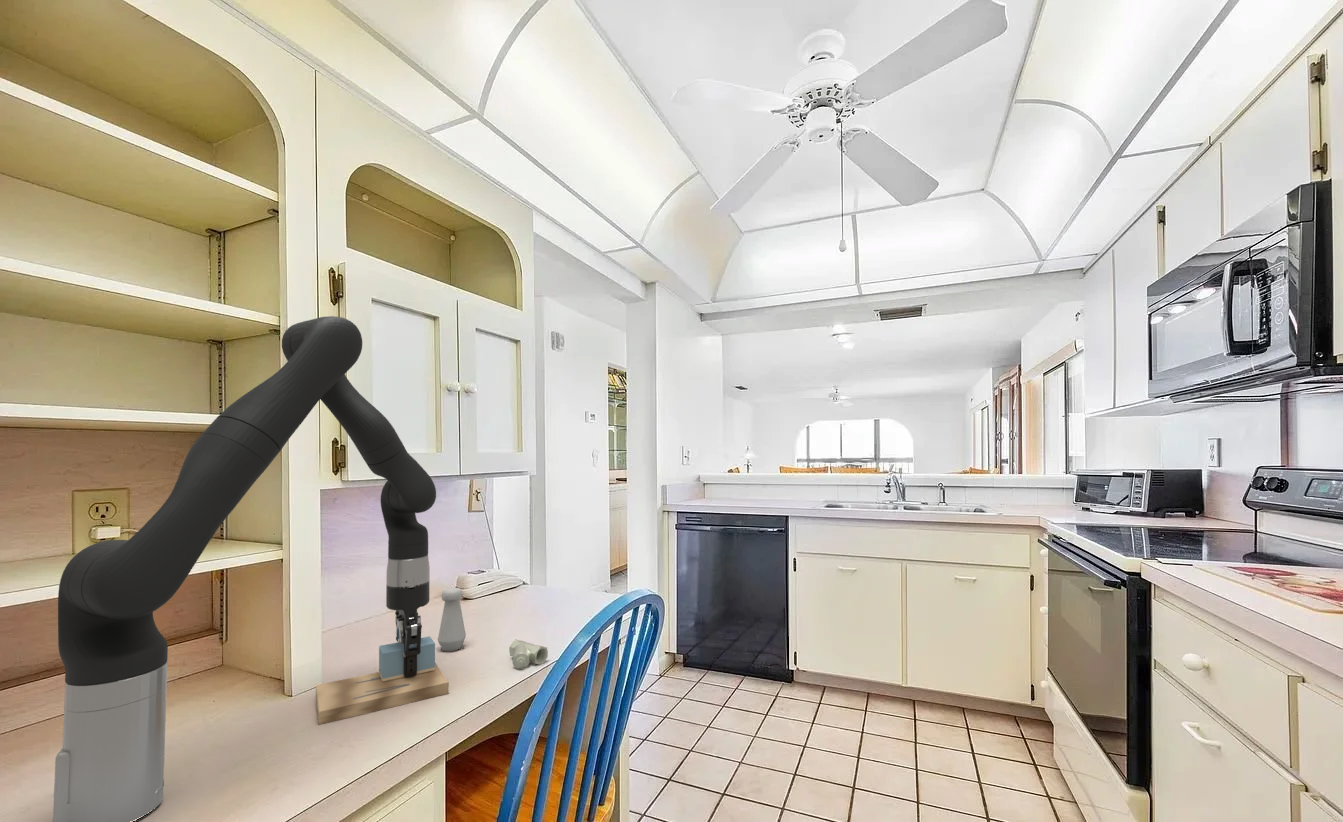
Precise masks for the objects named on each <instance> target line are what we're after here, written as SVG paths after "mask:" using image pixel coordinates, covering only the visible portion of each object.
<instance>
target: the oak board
mask: <svg viewBox="0 0 1343 822" xmlns="http://www.w3.org/2000/svg"><path fill="white" fill-rule="evenodd" d="M315 687H316V688H315V698H316V699H315V700H316V706H317V707H316V709H317V717H318V718H317V720H318V725H323V724H327V723H331V722H332V723H333V722H336V721H340V720H344V719H349V718H353V717H357V716H361V715H364V714H369V713H374V712H378V711H382V710H385V709H390V708H394V707H398V706H399V707H400V706H402V705H407V704H410V703H411V704H412V703H416V702H419V701H423V700H428V699H431V698H435V697H439V696H440V697H441V696H444V695H449V681H448V679H447V678H446V676H445V675H444V674H443V672H442V671H441V669H440V667H439V666H438V665H437V663H436V662H435V670H433V671H429V672H424V673H420V674H416V675H415V676H412V677H408V678H405V677H401V678H397V679H392V680H388V681H383V682H382V679H381V677H380V674H379V671H377V672H373V673H367V674H362V675H357V676H353V677H350V678H344V679H343V678H342V679H338V680H333V681H330V682H323V683H319V684H316V685H315Z"/></svg>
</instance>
